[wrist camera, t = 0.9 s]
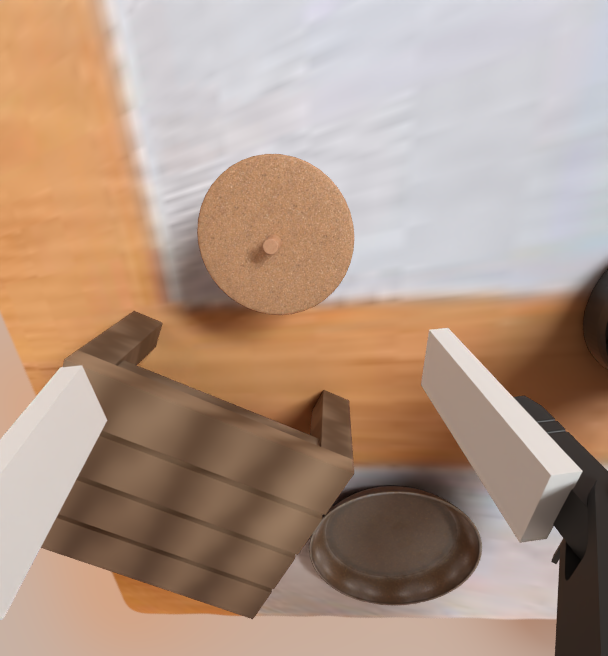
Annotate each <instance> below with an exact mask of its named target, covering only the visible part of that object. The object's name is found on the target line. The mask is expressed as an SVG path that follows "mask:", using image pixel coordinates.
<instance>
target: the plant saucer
mask: <svg viewBox="0 0 608 656" xmlns="http://www.w3.org/2000/svg"><path fill="white" fill-rule="evenodd" d="M309 552H310V558H311V561H312V564H313V566H314V568H315V570H316V572H317V573H318V574H319V576H320V577H321V578H322V579H323V580H324V581H325V582H326V583H327V584H328V585H330V586H331V587H332V588H334V589H335V590H337V591H339V592H340V593H342V594H344V595H346V596H349V597H351V598H354V599H357V600H360V601H364V602H369V603H374V604H380V605H408V604H416V603H420V602H425V601H429V600H432V599H435V598H438V597H441V596H443V595H445V594H447V593H449V592H451V591H453V590H454V589H456V588H457V587H459V586H460V585H462V584H463V583H464V582H465V581H466V580H467V579H468V578H469V577H470V576H471V575H472V573H473V572H474V571H475V569H476V567H477V566H478V563H479V561H480V558H481V552H482V542H481V538H480V534H479V532H478V530H477V528H476V526H475V525H474V523H473V522H472V521H471V520H470V518H469V517H468V516H467V515H466V514H464V513H463V512H462V511H461V510H460V509H458V508H457V507H456V506H454V505H453V504H451V503H450V502H448V501H446V500H444V499H443V498H441V497H439V496H437V495H434V494H432V493H429V492H426V491H423V490H419V489H415V488H410V487H402V486H383V487H375V488H370V489H367V490H363V491H360V492H358V493H355V494H353V495H351V496H349V497H347V498H345V499H344V500H342V501H340V502H339V503H337V504H336V505H335V506H334V507H333V508H331V509H330V510H329V511H328V512H327V513H326V515H325V516H324V517H323V518H322V521H321V522H320V523H319V525H318V526H317V528H316V529H315V531H314V532H313V534H312V537H311V540H310V547H309Z"/></svg>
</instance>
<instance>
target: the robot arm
mask: <svg viewBox="0 0 608 656" xmlns="http://www.w3.org/2000/svg"><path fill="white" fill-rule="evenodd" d="M583 330H584V337H585V341H586V344H587V347H588V349H589V351H590V353H591V354H592V356H593V357H594V358H595V359H596V360H597V361H598V362H599V363H600V364H601V365H602V366H603V367H605V368H606V369H608V270H607V271H606V272H605V273H604V275H603V276H602V277H601V279H600V280H599V282H598V283H597V285H596V286H595V288H594V290H593V292H592V294H591V296H590V298H589V301H588V304H587V306H586V310H585V315H584V323H583ZM421 386H422V387H423V389H424V391H425V392H426V394H427V395H428V397H429V398H430V400H431V402H432V403H433V405H434V406H435V408H436V410H437V411H438V413H439V414H440V416H441V418H442V419H443V421H444V422H445V424H446V426H447V427H448V429H449V430H450V432H451V434H452V435H453V437H454V438H455V440H456V442H457V443H458V445H459V446H460V448H461V450H462V451H463V453H464V454H465V456H466V458H467V459H468V461H469V462H470V464H471V466H472V467H473V469H474V470H475V472H476V474H477V475H478V477H479V478H480V480H481V482H482V483H483V485H484V486H485V488H486V490H487V491H488V493H489V494H490V496H491V498H492V499H493V501H494V502H495V504H496V506H497V507H498V509H499V510H500V512H501V514H502V515H503V517H504V518H505V520H506V521H507V523H508V525H509V526H510V528H511V529H512V531H513V533H514V534H515V536H516V537H517V539H518V541H519V542H520V543H521V542H527V541H534V540H541V539H547V537H548V535H549V534H550V532H551V530H552V528H553V526H555V527H556V529H557V530H558V531H559V533H560V534H561V535H562V537H563V540H562V542H561V543H560V545H559V547H558V548H557V550H556V552H555V554H554V556H553V558H552V561H551V562H553V563H555V564H557V562H558V560H559V559H560V563H559V583H558V604H557V624H556V646H555V656H608V471H607V470H606V469H605V468H604V467H603V466H602V465H601V464H600V463H599V462H598V461H597V460H596V459H595V458H594V457H593V456H592V455H591V454H590V453H589V452H588V451H587V450H586V449H585V448H584V447H583V446H582V445H581V444H580V443H579V442H578V441H577V440H576V439H575V438H574V437H573V436H572V435H571V434H570V433H569V432H566V431H565V428H564V427H563V426H562V425H561V424H560V423H559V422H558V421H555V418H553V417H552V416H551V415H550V414H549V413H548V412H547V411H546V410H545V409H544V408H543V407H542V406H541V405H539V404H538V403H536V402H534V401H533V400H531V399H529V398H528V397H526V396H518V397H513V396H512V395H511V394H510V393H509V392H508V391H507V390H506V389H505V388H504V387H503V386H502V385H501V384H500V383H499V382H498V381H497V379H496V378H495V377H494V376H493V375H492V374H491V373H490V372H489V371H488V370H487V369H486V368H485V367H484V366H483V365H482V364H481V362H480V361H479V360H478V359H477V358H476V357H475V356H474V355H473V354H472V353H471V352H470V351H469V350H468V349H467V348H466V346H465V345H464V344H463V343H462V342H461V341H460V340H459V339H458V338H457V337H456V336H455V335H454V334H453V333H452V332H451V331H450V329H449V328H443V329H433V330H429V335H428V341H427V348H426V355H425V361H424V368H423V375H422V381H421ZM106 422H107V419H106V417H105V414H104V412H103V410H102V408H101V406H100V403H99V401H98V399H97V397H96V395H95V393H94V390H93V388H92V386H91V384H90V382H89V379H88V377H87V375H86V373H85V371H84V369H83V366H82V365H80V366H71V367H61V368H59V370H58V371H57V372H56V373H55V374H54V376H53V377H52V378H51V379H50V380H49V382H48V383H47V384H46V385H45V386H44V388H43V389H42V390H41V391H40V392H39V394H38V395H37V396H36V397H35V399H34V400H33V401H32V402H31V403H30V405H29V406H28V407H27V408H26V409H25V411H24V412H23V413H22V414H21V415H20V416H19V418H18V419H17V420H16V421H15V422H14V424H13V425H12V426H11V427H10V429H9V430H8V431H7V432H6V433H5V434H4V436H3V437H2V438H1V439H0V619H3V618H4V616H5V615H6V613H7V611H8V609H9V607H10V605H11V603H12V601H13V600H14V598H15V595H16V594H17V592H18V590H19V588H20V586H21V584H22V582H23V580H24V579H25V577H26V575H27V573H28V571H29V569H30V567H31V565H32V563H33V561H34V559H35V557H36V556H37V554H38V552H39V550H40V548H41V546H42V544H43V542H44V540H45V538H46V536H47V535H48V533H49V531H50V529H51V527H52V525H53V523H54V521H55V519H56V517H57V515H58V514H59V512H60V510H61V508H62V506H63V504H64V502H65V500H66V498H67V496H68V494H69V492H70V491H71V489H72V487H73V485H74V483H75V481H76V479H77V477H78V475H79V473H80V471H81V470H82V468H83V466H84V464H85V462H86V460H87V458H88V456H89V454H90V452H91V450H92V449H93V447H94V445H95V443H96V441H97V439H98V437H99V435H100V433H101V431H102V429H103V427H104V426H105V424H106Z"/></svg>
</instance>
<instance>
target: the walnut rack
mask: <svg viewBox="0 0 608 656" xmlns="http://www.w3.org/2000/svg"><path fill="white" fill-rule="evenodd" d="M161 327H162V322H159V321H157V320H155V319H152V318H150V317H147V316H145V315H143V314H140V313H138V312H135V311H133V312H132V313H130V314H129V315H128V316H126V317H125V318H123V319H122V320H120V321H119V322H117V323H116V324H115V325H113V326H112V327H110V328H109V329H107V330H106V331H104V332H103V333H102V334H100V335H99V336H97V337H96V338H94V339H93V340H91V341H90V342H88V343H87V344H86V345H84V346H83V347H81V348H80V349H78V350H77V351H75V352H74V353H73V354H71V355H70V356H68V357H67V358H65V359H64V364H63V367H71V366H80V365H82V366H83V369H84V371H85V373H86V375H87V377H88V379H89V382H90V384H91V386H92V388H93V390H94V393H95V395H96V397H97V399H98V401H99V403H100V406H101V408H102V410H103V412H104V414H105V417H106V419H107V422H106V424H105V426H104V427H103V429H102V431H101V433H100V435H99V437H98V439H97V441H96V443H95V445H94V447H93V449H92V450H91V452H90V454H89V456H88V458H87V460H86V462H85V464H84V466H83V468H82V470H81V471H80V473H79V475H78V477H77V479H76V481H75V483H74V485H73V487H72V489H71V491H70V492H69V494H68V496H67V498H66V500H65V502H64V504H63V506H62V508H61V510H60V512H59V514H58V515H57V517H56V519H55V521H54V523H53V525H52V527H51V529H50V531H49V533H48V535H47V536H46V538H45V540H44V542H43V544H42V546H41V548H44V549H47V550H49V551H52V552H55V553H58V554H61V555H64V556H67V557H70V558H73V559H76V560H79V561H82V562H85V563H88V564H91V565H94V566H97V567H100V568H103V569H106V570H109V571H112V572H115V573H118V574H121V575H124V576H127V577H129V578H132V579H135V580H138V581H141V582H144V583H147V584H150V585H153V586H156V587H159V588H162V589H165V590H168V591H171V592H174V593H177V594H180V595H183V596H186V597H189V598H192V599H195V600H198V601H201V602H204V603H207V604H210V605H213V606H215V607H218V608H221V609H224V610H227V611H230V612H233V613H236V614H239V615H242V616H245V617H248V618H251V619H253V618H254V617H255V615H256V614H257V613H258V611H259V610H260V608H261V607H262V605H263V604H264V602H265V601H266V600H267V598H268V597H269V595H270V594H271V591H272V589H274V588H275V587H276V585H277V584H278V582H279V581H280V579H281V578H282V577H283V575H284V574H285V572H286V571H287V569H288V568H289V567H290V565H291V564H292V562H293V561H294V559H295V554H297V555H298V554H299V552H300V551H301V549H302V548H303V546H304V545H305V544H306V542H307V541H308V539H309V538H310V536H311V535H312V534H313V532H314V531H315V529H316V528H317V526H318V525H319V523H320V522H321V521H322V514H324V515H326V513H327V512H328V511H329V509H330V508H331V506H332V505H333V503H334V502H335V500H336V499H337V498H338V496H339V495H340V493H341V492H342V490H343V489H344V488H345V486H346V485H347V483H348V482H349V480H350V479H351V478H352V476H353V475H354V464H353V450H352V436H351V421H350V407H349V400H346V399H344V398H342V397H339V396H337V395H334V394H332V393H330V392H327V391H325V390H323V392H322V394H321V396H320V397H319V399H318V401H317V403H316V405H315V406H314V408H313V410H312V417H311V429H310V435H309V434H306V433H304V432H301V431H299V430H296V429H294V428H291V427H289V426H286V425H284V424H281V423H279V422H276V421H274V420H271V419H269V418H266V417H264V416H261V415H259V414H256V413H254V412H251V411H249V410H246V409H244V408H241V407H239V406H236V405H234V404H231V403H229V402H226V401H224V400H221V399H219V398H216V397H214V396H211V395H209V394H206V393H204V392H201V391H199V390H196V389H194V388H191V387H189V386H186V385H184V384H181V383H179V382H176V381H174V380H171V379H169V378H166V377H164V376H161V375H159V374H156V373H154V372H151V371H149V370H146V369H144V368H141V367H139V366H136V365H137V364H138V363H139V362H140V361H141V360H143V359H144V358H145V357H146V356H147V355H148V354H149V353H150V352H151V351H152V350H153V349H154V348H155V347H156V344H157V340H158V337H159V333H160V330H161Z"/></svg>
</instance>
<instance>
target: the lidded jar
mask: <svg viewBox="0 0 608 656" xmlns="http://www.w3.org/2000/svg"><path fill="white" fill-rule="evenodd" d="M197 233H198V244H199V248H200V252H201V256H202V259H203V262H204V264H205V266H206V269H207V270H208V272H209V274H210V275H211V277H212V279H213V280H214V281H215V283H216V284H217V285H218V286H219V288H220V289H221V290H222V291H223V292H224V293H226V294H227V295H228V296H229V297H230V298H232V299H233V300H234V301H236V302H237V303H239V304H241V305H243V306H245V307H247V308H249V309H251V310H254V311H257V312H261V313H266V314H273V315H285V314H294V313H298V312H302V311H305V310H307V309H309V308H312V307H314V306H316V305H317V304H319V303H320V302H322V301H323V300H325V299H326V298H327V297H328V296H329V295H330V294H332V293H333V291H334V290H335V289H336V288H337V287H338V286H339V284H340V283H341V281H342V279H343V278H344V276H345V275H346V272H347V270H348V267H349V265H350V262H351V258H352V254H353V248H354V228H353V222H352V218H351V214H350V210H349V208H348V206H347V203H346V201H345V199H344V197H343V195H342V194H341V192H340V190H339V189H338V187H337V186H336V185H335V184H334V183H333V182H332V180H331V179H330V178H329V177H328V176H327V175H325V174H324V173H323V172H322V171H321V170H320V169H318V168H316V167H315V166H313V165H311V164H310V163H308V162H306V161H303V160H301V159H298V158H296V157H292V156H287V155H282V154H264V155H257V156H253V157H250V158H247V159H244V160H241V161H240V162H238V163H236V164H234V165H232V166H231V167H229V168H228V169H227V170H226V171H224V172H223V173H222V174H221V175H220V176H219V177H218V178H217V179H216V181H215V182H214V183H213V184H212V185H211V187H210V189H209V190H208V192H207V194H206V195H205V198H204V200H203V203H202V206H201V209H200V213H199V218H198V231H197Z"/></svg>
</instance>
